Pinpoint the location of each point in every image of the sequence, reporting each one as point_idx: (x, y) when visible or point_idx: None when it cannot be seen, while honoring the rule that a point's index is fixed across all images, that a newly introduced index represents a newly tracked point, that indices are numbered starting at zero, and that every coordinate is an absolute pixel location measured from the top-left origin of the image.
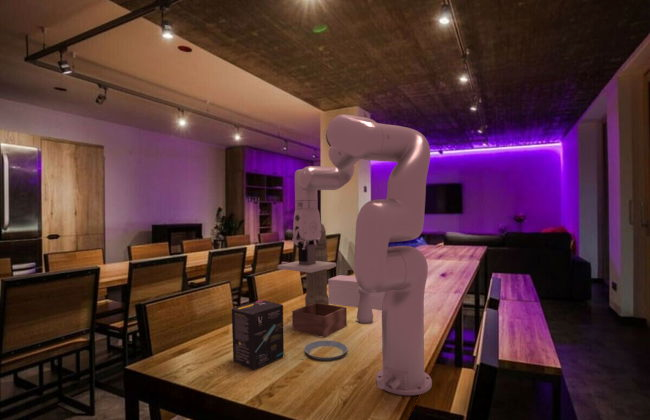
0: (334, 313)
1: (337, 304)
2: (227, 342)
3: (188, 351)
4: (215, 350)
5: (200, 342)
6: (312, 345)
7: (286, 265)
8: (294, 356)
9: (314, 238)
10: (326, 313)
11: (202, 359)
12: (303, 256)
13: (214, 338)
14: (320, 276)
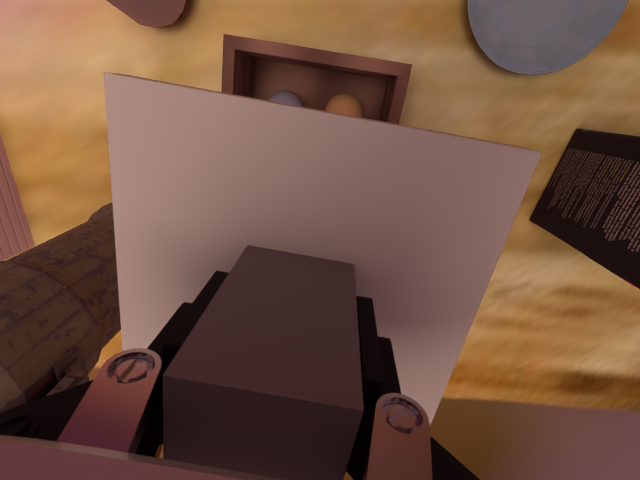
0: (330, 51)
1: (22, 209)
2: (501, 329)
3: (580, 371)
4: (562, 323)
5: (517, 382)
6: (511, 63)
7: (417, 400)
8: (564, 98)
9: (195, 473)
10: None
11: (625, 316)
12: (379, 346)
13: (482, 371)
14: (83, 265)
